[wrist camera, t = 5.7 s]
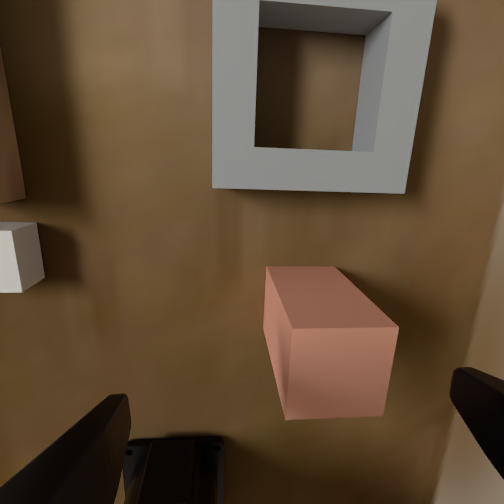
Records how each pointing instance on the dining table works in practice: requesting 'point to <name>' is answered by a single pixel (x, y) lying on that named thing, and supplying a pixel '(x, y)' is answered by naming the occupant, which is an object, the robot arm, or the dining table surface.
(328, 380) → the leg peg
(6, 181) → the leg bar
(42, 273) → the stop block
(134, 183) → the dining table surface
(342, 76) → the dining table surface
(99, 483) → the robot arm
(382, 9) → the socket
